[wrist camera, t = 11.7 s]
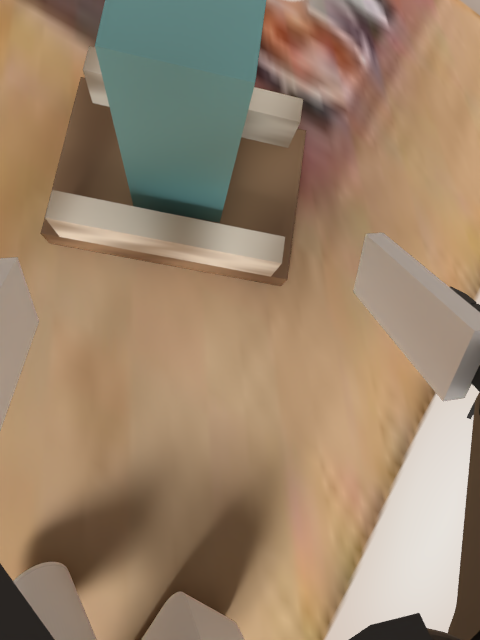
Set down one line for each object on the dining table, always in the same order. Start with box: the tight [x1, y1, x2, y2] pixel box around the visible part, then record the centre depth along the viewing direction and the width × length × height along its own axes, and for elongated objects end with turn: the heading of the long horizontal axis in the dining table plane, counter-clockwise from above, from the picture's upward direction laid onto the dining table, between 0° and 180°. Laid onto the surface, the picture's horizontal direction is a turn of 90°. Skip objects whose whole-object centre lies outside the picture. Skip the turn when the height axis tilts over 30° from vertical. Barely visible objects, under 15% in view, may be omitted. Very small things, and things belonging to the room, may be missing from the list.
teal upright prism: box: [95, 0, 266, 223], centre depth 18 cm, size 5×4×11 cm
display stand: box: [41, 46, 306, 286], centre depth 23 cm, size 14×10×4 cm
